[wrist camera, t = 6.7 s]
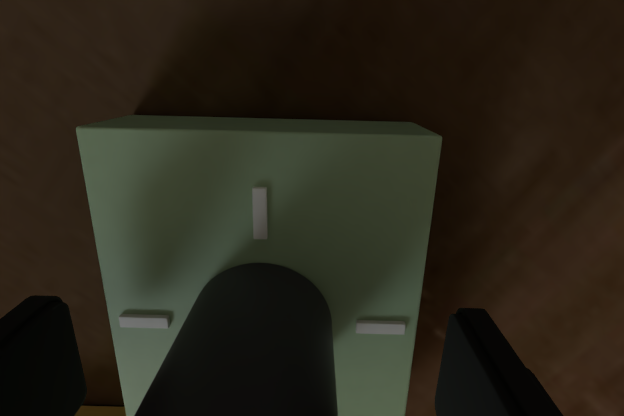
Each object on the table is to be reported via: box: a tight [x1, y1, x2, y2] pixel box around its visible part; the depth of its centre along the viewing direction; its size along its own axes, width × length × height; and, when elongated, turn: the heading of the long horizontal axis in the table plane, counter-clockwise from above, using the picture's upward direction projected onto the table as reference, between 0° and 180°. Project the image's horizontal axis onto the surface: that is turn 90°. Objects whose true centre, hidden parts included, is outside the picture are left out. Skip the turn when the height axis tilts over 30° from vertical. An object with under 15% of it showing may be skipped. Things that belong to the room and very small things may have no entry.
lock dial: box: [134, 263, 338, 416], centre depth 8 cm, size 4×4×6 cm
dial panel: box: [76, 115, 442, 416], centre depth 12 cm, size 11×9×3 cm
